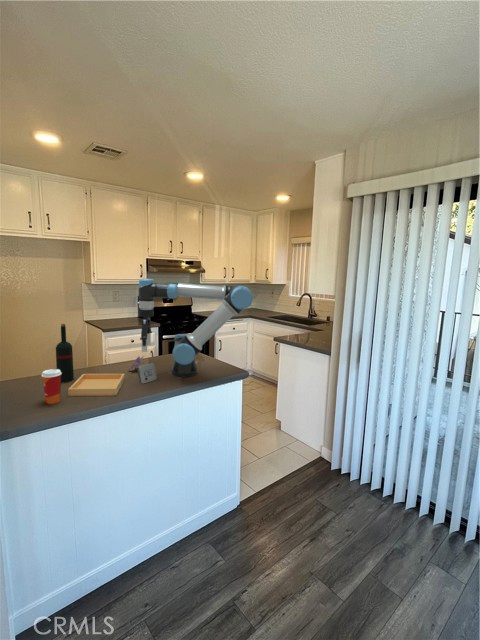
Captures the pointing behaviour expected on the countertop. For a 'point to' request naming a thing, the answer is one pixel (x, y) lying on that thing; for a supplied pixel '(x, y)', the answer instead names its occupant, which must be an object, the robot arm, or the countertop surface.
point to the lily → (137, 362)
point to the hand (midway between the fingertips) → (146, 348)
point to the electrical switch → (147, 373)
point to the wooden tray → (97, 385)
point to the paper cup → (52, 385)
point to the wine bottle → (64, 357)
